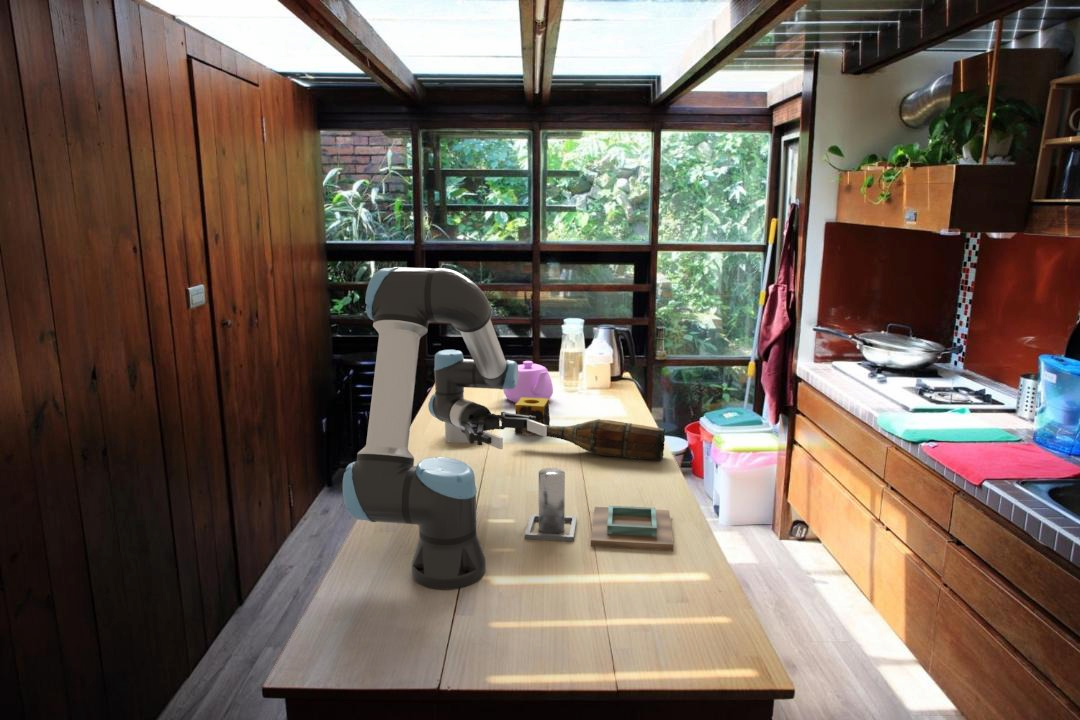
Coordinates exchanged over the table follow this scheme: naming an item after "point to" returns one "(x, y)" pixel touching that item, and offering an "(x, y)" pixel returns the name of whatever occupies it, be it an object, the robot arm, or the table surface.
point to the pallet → (632, 528)
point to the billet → (551, 501)
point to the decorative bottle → (612, 438)
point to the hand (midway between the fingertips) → (524, 437)
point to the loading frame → (551, 536)
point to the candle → (533, 410)
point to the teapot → (531, 383)
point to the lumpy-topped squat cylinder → (455, 434)
